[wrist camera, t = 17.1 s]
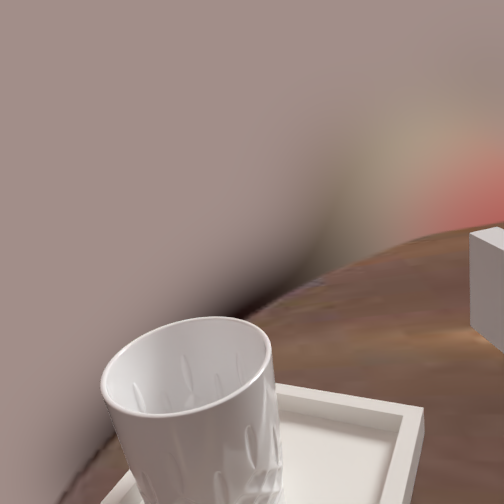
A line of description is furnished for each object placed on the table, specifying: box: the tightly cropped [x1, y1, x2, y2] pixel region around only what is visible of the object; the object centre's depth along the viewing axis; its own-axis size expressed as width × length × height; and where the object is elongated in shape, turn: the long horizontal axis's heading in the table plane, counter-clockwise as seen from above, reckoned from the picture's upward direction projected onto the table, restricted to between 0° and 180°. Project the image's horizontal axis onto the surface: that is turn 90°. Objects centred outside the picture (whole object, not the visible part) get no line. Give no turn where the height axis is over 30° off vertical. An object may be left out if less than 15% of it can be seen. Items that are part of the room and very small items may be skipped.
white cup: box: [100, 317, 285, 504], centre depth 24 cm, size 8×8×10 cm
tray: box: [100, 383, 424, 504], centre depth 26 cm, size 15×15×2 cm
